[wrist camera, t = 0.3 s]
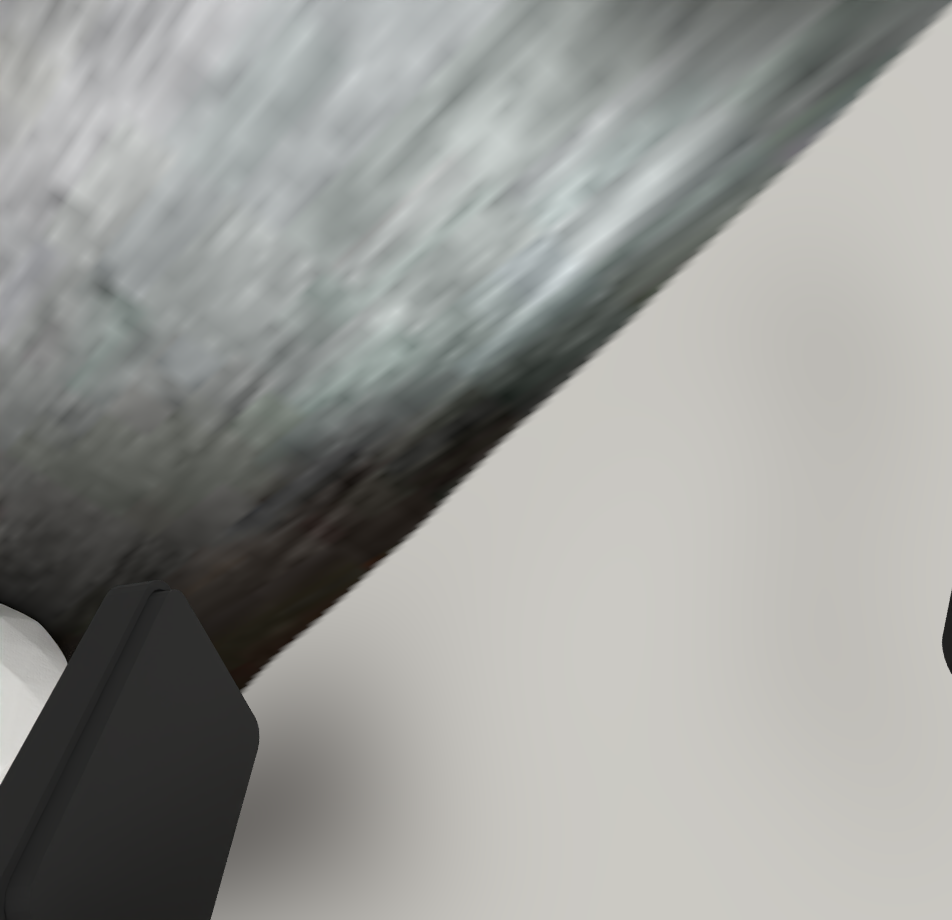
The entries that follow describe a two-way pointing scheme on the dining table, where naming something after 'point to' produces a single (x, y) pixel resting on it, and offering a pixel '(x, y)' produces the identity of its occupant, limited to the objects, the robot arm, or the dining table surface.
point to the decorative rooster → (23, 679)
